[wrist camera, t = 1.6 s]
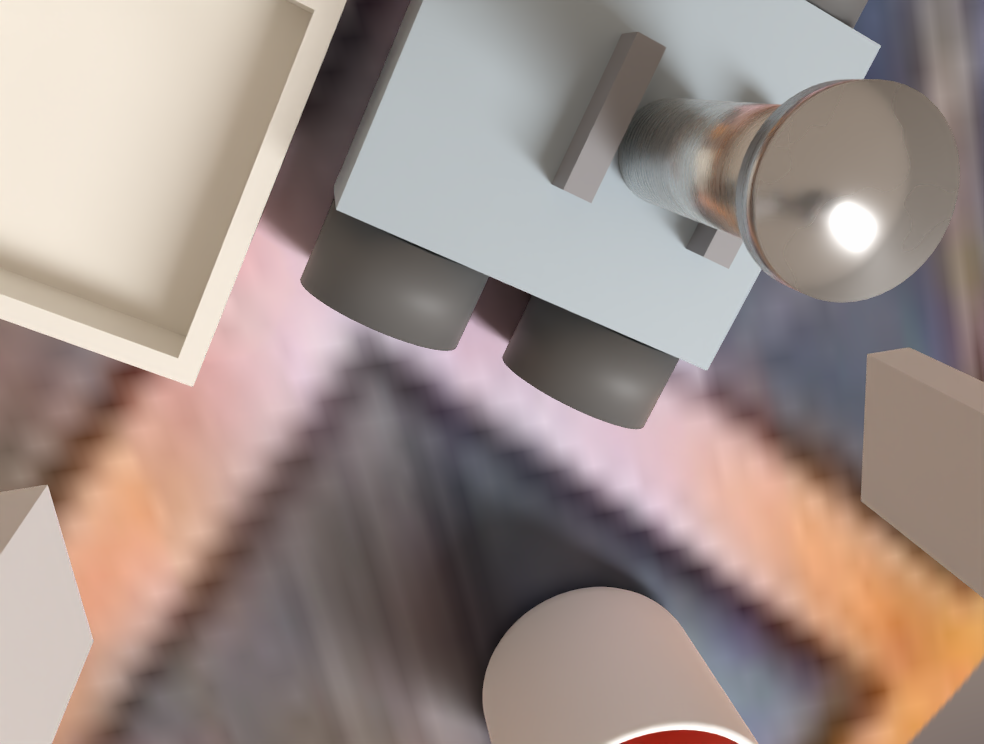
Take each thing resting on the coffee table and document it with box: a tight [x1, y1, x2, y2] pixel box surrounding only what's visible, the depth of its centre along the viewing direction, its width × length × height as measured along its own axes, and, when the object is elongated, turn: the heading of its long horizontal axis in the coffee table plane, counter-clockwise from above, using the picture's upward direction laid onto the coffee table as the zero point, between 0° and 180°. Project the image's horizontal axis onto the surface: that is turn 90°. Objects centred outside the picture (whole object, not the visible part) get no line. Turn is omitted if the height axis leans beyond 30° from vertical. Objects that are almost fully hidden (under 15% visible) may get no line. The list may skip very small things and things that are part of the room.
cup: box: [483, 587, 758, 744], centre depth 37 cm, size 10×10×10 cm
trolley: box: [300, 0, 881, 429], centre depth 30 cm, size 14×19×8 cm
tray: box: [0, 0, 347, 387], centre depth 29 cm, size 14×14×3 cm
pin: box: [618, 79, 960, 302], centre depth 24 cm, size 5×5×11 cm
